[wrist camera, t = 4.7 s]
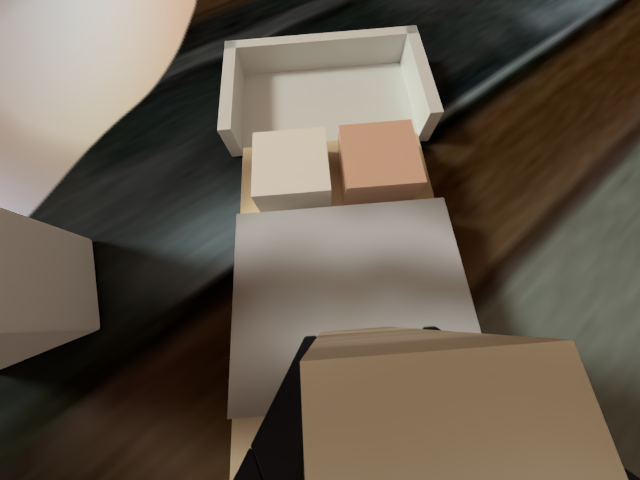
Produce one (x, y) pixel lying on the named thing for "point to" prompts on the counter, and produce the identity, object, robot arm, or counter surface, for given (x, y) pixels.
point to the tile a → (290, 169)
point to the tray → (325, 83)
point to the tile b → (379, 162)
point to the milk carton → (43, 287)
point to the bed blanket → (401, 354)
